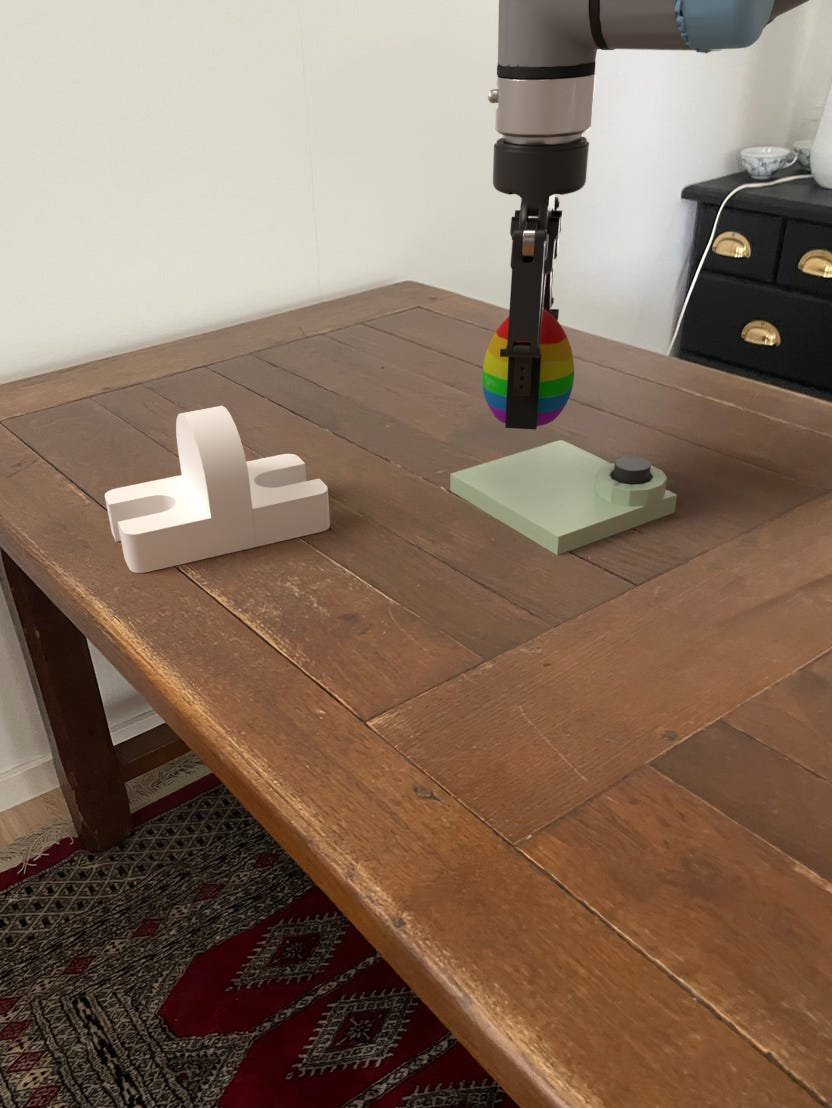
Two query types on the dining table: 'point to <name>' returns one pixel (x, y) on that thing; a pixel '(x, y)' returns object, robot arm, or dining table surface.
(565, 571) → the dining table surface
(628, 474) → the button
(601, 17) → the robot arm
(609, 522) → the scale
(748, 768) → the dining table surface
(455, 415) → the dining table surface
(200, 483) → the bracket
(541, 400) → the decorative egg
